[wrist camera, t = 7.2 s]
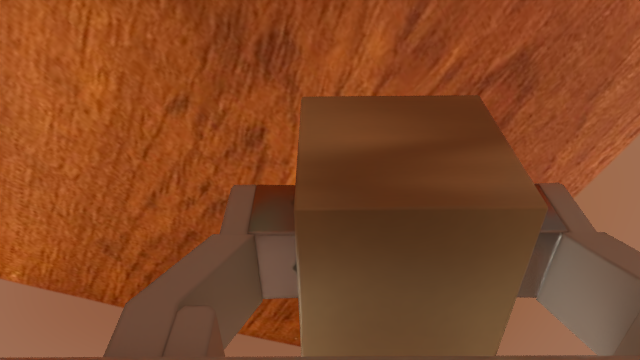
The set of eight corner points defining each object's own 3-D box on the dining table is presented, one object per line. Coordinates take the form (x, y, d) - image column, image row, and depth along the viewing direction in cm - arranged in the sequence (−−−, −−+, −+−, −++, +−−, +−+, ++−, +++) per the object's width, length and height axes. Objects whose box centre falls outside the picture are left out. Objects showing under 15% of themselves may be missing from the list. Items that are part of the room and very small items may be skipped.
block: (479, 94, 11) (549, 206, 7) (451, 228, 13) (496, 358, 10) (301, 95, 11) (293, 209, 7) (305, 229, 13) (301, 359, 10)
